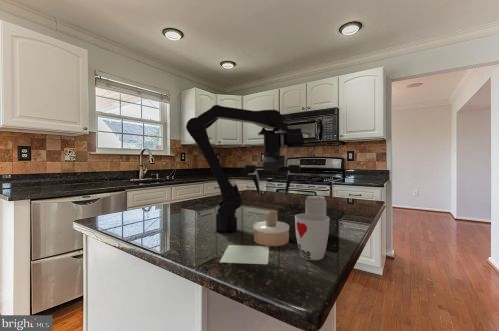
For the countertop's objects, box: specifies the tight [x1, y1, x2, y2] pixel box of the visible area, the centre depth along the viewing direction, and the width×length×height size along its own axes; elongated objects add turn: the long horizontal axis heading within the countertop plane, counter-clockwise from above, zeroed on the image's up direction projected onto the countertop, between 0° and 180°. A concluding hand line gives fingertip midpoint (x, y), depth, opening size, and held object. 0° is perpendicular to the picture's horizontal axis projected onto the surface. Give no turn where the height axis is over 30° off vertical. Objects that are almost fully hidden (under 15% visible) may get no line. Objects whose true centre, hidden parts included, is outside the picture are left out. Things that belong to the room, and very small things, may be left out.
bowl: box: [253, 229, 290, 247], centre depth 70 cm, size 10×10×4 cm
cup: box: [294, 212, 331, 261], centre depth 58 cm, size 8×8×10 cm
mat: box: [219, 244, 270, 265], centre depth 60 cm, size 11×11×1 cm
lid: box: [252, 210, 290, 234], centre depth 70 cm, size 10×10×5 cm
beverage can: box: [304, 195, 327, 216], centre depth 77 cm, size 6×6×12 cm
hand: (272, 194), depth 82 cm, fingers open, 9 cm apart
